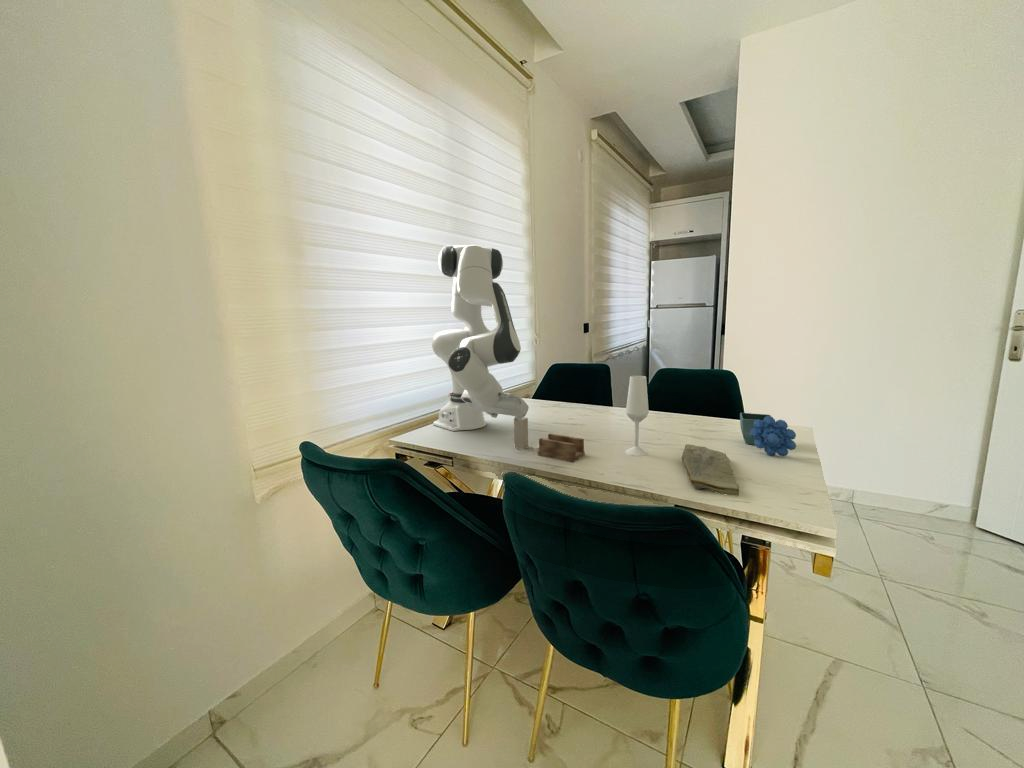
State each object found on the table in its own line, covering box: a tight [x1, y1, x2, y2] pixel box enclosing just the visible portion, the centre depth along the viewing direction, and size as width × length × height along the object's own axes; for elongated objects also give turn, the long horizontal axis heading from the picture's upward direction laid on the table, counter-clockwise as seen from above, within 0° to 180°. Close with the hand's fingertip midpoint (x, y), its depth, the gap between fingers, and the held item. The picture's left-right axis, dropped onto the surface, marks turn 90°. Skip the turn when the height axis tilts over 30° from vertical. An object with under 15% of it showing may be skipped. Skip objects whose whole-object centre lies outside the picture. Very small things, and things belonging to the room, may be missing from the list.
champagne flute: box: [625, 375, 650, 457], centre depth 121 cm, size 7×7×24 cm
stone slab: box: [681, 443, 740, 497], centre depth 107 cm, size 12×4×30 cm
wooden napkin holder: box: [537, 433, 585, 463], centre depth 123 cm, size 12×8×5 cm, turn 55°
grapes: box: [750, 416, 797, 457], centre depth 115 cm, size 12×7×12 cm, turn 59°
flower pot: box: [739, 412, 772, 446], centre depth 128 cm, size 9×9×9 cm
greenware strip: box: [513, 416, 529, 450], centre depth 131 cm, size 4×3×10 cm
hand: (507, 417), depth 124 cm, fingers open, 8 cm apart
